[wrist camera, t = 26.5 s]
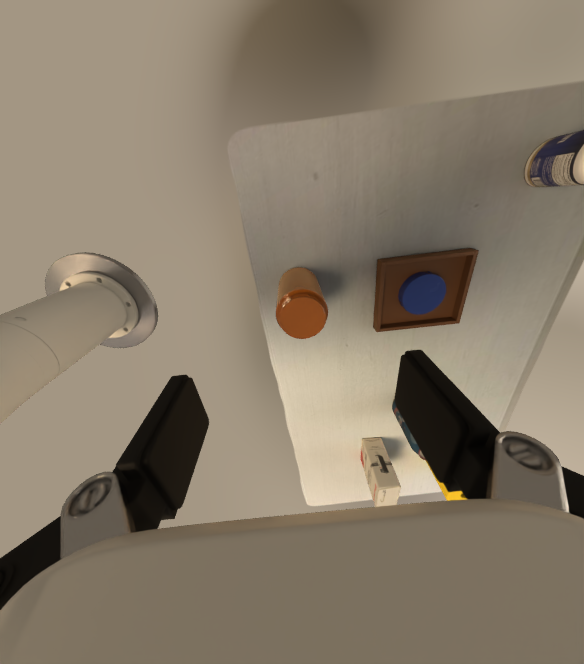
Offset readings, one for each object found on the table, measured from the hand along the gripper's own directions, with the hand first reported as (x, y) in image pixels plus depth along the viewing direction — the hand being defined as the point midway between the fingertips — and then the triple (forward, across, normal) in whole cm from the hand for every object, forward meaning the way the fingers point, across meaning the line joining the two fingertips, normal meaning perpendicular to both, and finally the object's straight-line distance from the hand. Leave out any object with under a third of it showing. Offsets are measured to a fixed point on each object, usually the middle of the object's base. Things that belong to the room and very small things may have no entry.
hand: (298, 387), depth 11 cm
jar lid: (+27, -21, +8) cm, 35 cm away
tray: (+29, -21, +8) cm, 37 cm away
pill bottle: (+29, -35, -8) cm, 46 cm away
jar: (+29, -1, +5) cm, 30 cm away
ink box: (+29, -16, +50) cm, 60 cm away
